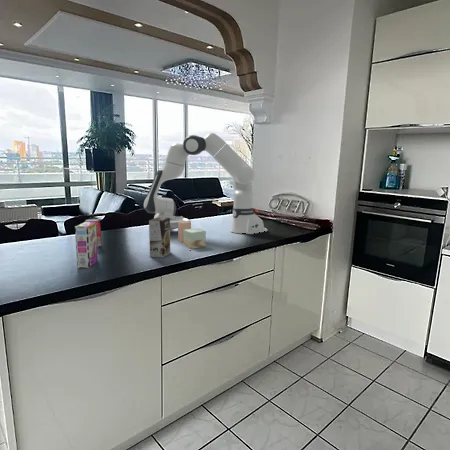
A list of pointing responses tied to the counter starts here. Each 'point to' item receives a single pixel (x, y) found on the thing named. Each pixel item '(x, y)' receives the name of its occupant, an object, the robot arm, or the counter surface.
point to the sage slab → (194, 234)
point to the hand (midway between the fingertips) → (177, 226)
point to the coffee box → (159, 237)
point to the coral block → (182, 229)
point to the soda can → (97, 230)
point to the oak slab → (193, 243)
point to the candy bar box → (86, 244)
